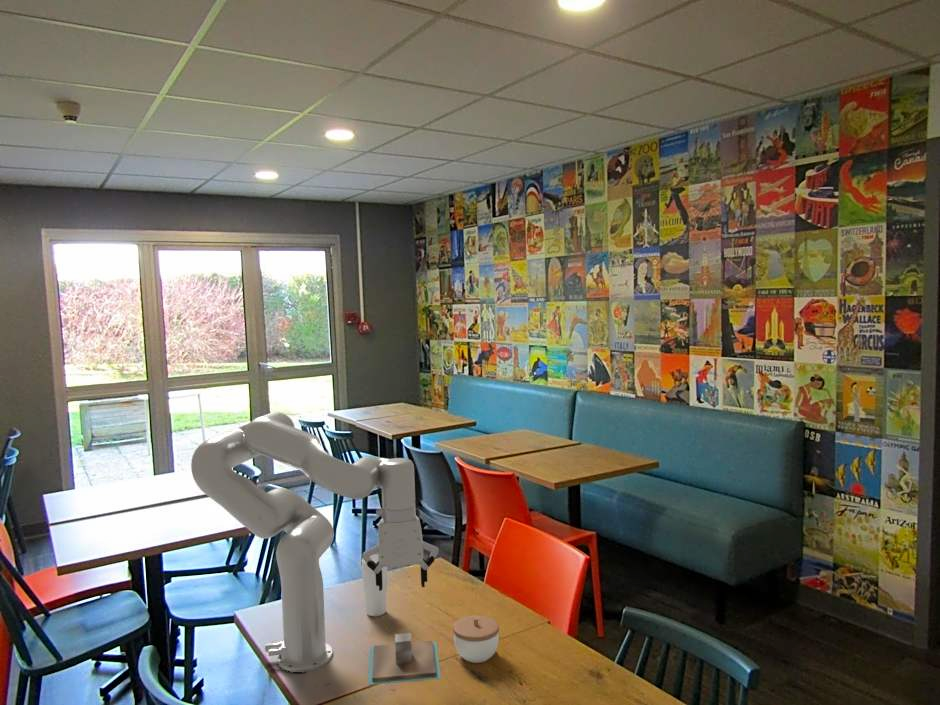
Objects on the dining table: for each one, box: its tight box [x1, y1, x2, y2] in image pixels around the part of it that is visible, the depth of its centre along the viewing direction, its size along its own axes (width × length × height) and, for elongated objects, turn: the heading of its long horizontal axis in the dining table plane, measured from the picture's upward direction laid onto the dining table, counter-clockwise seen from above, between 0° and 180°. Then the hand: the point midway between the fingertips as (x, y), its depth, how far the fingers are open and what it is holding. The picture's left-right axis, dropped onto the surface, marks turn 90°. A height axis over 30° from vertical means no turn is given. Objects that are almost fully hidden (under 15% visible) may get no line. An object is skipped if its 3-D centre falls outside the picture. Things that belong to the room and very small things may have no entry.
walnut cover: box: [372, 632, 436, 682], centre depth 150 cm, size 14×14×6 cm
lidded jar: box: [452, 614, 500, 664], centre depth 152 cm, size 11×11×9 cm
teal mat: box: [367, 641, 442, 686], centre depth 150 cm, size 16×16×1 cm
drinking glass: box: [361, 553, 388, 617], centre depth 175 cm, size 7×7×15 cm
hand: (401, 586), depth 149 cm, fingers open, 9 cm apart
